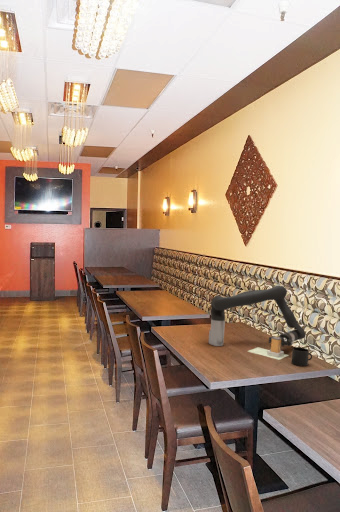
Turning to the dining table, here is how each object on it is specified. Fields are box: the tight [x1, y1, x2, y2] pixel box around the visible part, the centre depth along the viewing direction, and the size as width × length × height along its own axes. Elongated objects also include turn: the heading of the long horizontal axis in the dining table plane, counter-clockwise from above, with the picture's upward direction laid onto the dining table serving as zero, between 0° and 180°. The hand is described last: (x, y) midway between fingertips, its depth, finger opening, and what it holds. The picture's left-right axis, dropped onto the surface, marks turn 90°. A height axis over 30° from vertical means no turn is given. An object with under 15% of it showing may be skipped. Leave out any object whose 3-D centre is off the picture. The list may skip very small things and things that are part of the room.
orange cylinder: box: [270, 336, 282, 353], centre depth 265 cm, size 4×4×11 cm
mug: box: [291, 346, 313, 367], centre depth 255 cm, size 9×12×9 cm
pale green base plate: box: [247, 346, 289, 361], centre depth 268 cm, size 22×14×4 cm, turn 50°
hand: (275, 342), depth 264 cm, fingers open, 8 cm apart
